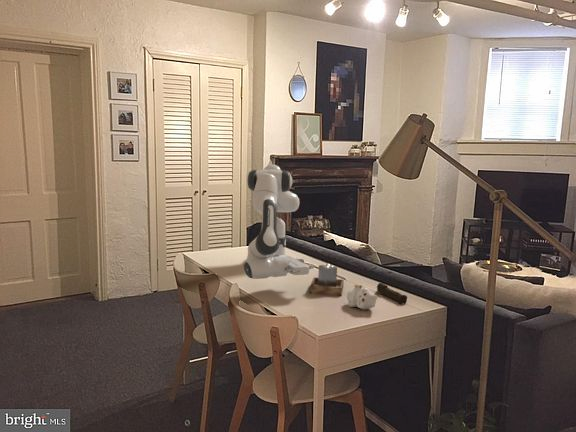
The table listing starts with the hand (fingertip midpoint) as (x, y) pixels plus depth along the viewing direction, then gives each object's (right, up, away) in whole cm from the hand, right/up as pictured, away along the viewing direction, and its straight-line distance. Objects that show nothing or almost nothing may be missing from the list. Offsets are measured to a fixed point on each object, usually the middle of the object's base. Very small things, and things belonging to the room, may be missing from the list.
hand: (308, 263), depth 217 cm
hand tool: (+35, -15, -7) cm, 39 cm away
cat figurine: (+21, -16, -22) cm, 34 cm away
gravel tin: (+8, -11, +1) cm, 14 cm away
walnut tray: (+9, -12, +1) cm, 15 cm away
